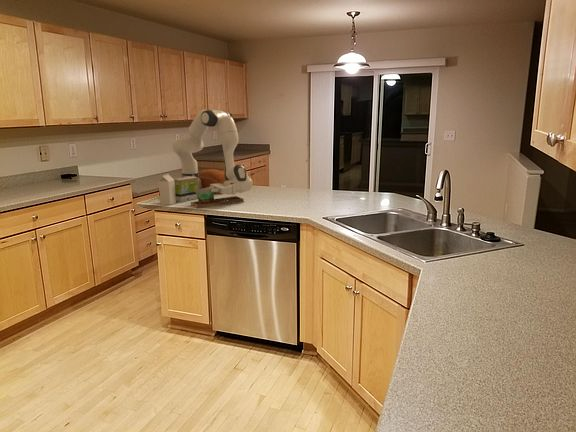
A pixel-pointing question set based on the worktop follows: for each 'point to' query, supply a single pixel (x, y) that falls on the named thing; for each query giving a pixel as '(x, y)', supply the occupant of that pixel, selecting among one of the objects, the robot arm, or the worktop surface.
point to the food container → (205, 195)
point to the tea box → (186, 188)
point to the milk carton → (167, 190)
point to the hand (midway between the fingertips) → (208, 189)
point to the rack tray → (218, 202)
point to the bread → (211, 178)
